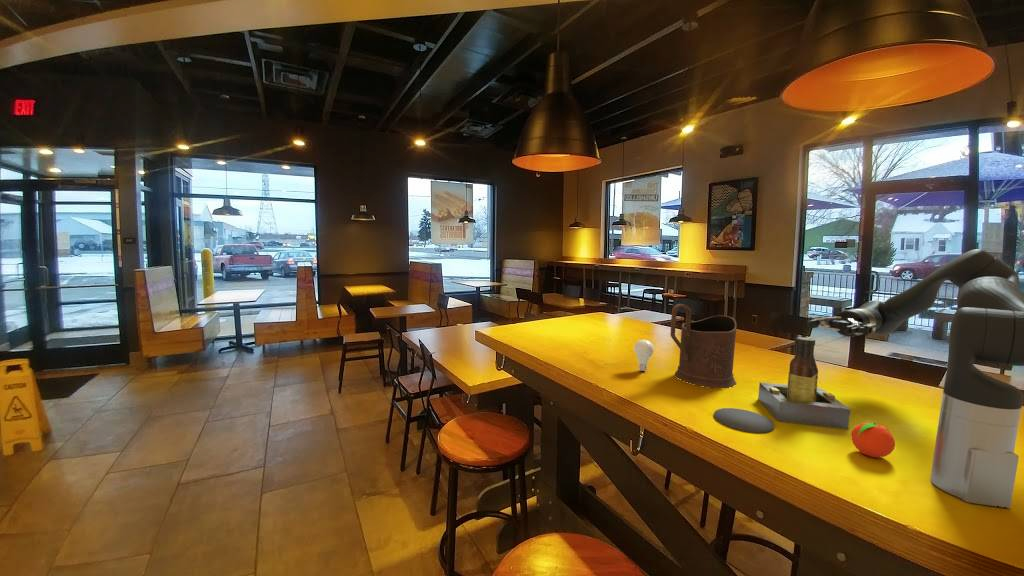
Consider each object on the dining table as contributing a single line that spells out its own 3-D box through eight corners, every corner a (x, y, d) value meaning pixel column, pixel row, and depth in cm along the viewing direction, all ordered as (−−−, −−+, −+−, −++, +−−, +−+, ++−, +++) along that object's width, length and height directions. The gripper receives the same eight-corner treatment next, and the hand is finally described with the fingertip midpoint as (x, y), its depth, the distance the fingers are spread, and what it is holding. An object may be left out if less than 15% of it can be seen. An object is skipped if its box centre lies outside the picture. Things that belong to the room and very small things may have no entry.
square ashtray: (848, 429, 99) (850, 405, 99) (777, 421, 103) (780, 398, 102) (818, 405, 114) (820, 385, 113) (758, 399, 117) (759, 379, 117)
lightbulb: (628, 369, 142) (630, 338, 141) (643, 367, 145) (644, 337, 144) (641, 375, 136) (643, 342, 135) (656, 373, 139) (658, 341, 138)
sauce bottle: (819, 419, 104) (827, 342, 102) (791, 416, 106) (799, 341, 103) (806, 409, 111) (814, 336, 109) (780, 407, 112) (787, 335, 110)
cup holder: (750, 385, 129) (757, 306, 127) (691, 393, 121) (697, 309, 118) (703, 367, 147) (708, 298, 144) (648, 374, 138) (653, 300, 135)
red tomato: (873, 466, 82) (877, 432, 82) (837, 449, 89) (841, 418, 88) (901, 461, 85) (905, 428, 84) (864, 445, 91) (868, 414, 90)
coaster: (782, 436, 95) (783, 433, 95) (720, 428, 98) (721, 426, 98) (763, 413, 107) (763, 411, 107) (709, 407, 110) (709, 405, 110)
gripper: (827, 305, 125) (800, 309, 117) (887, 313, 113) (862, 318, 105) (824, 330, 126) (797, 335, 118) (884, 340, 114) (859, 347, 106)
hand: (828, 327), depth 112 cm, fingers open, 8 cm apart
